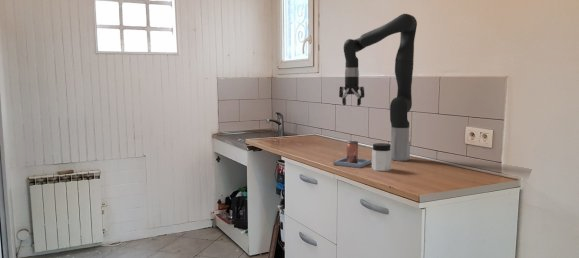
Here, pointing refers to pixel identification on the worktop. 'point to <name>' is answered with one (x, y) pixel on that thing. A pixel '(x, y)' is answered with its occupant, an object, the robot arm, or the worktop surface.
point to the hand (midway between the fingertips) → (351, 105)
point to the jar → (381, 157)
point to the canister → (352, 152)
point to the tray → (360, 163)
